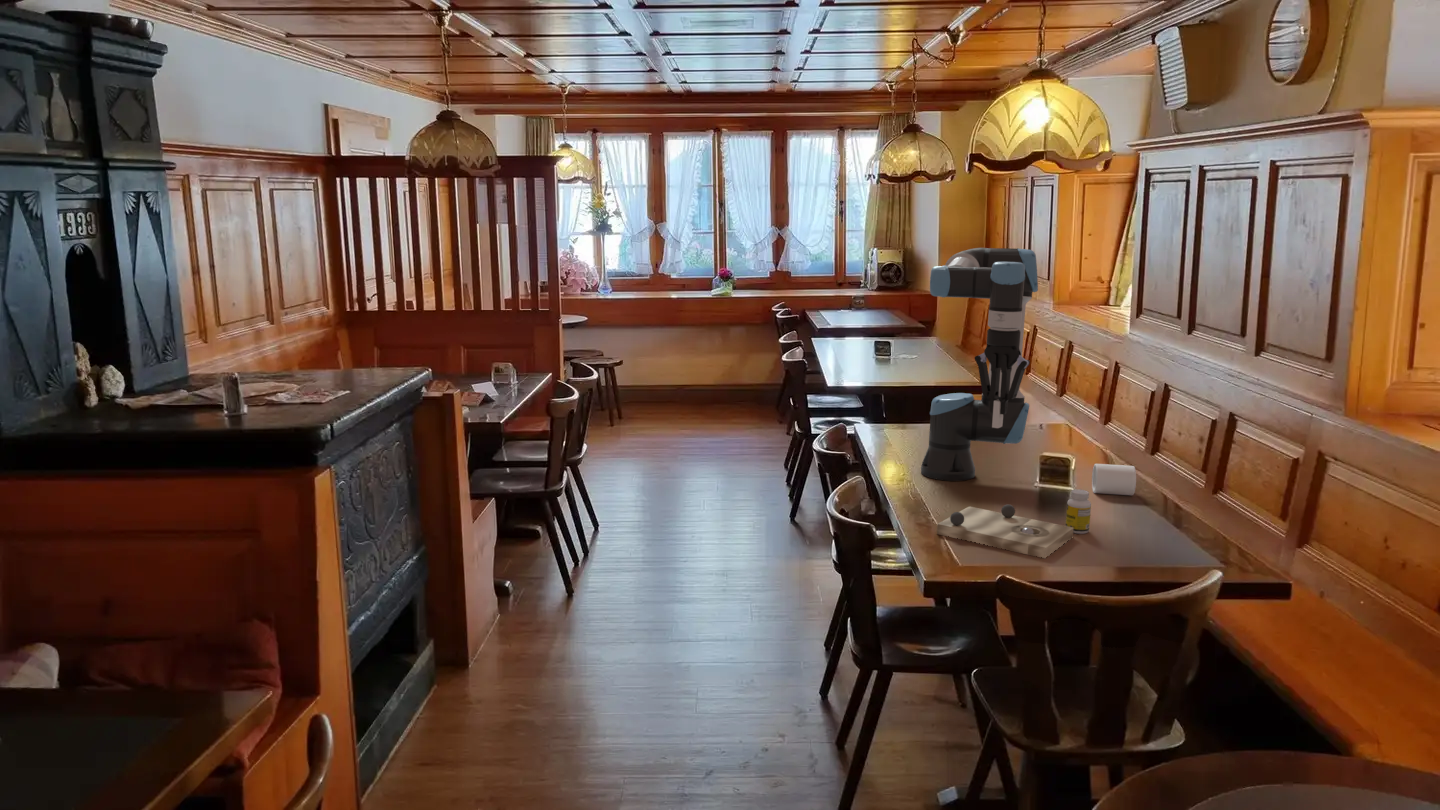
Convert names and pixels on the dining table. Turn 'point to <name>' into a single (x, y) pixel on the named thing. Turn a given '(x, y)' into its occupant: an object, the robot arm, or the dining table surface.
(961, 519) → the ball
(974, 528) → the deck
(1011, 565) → the dining table surface
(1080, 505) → the supplement bottle
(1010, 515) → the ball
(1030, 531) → the steel ball
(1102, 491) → the mug
